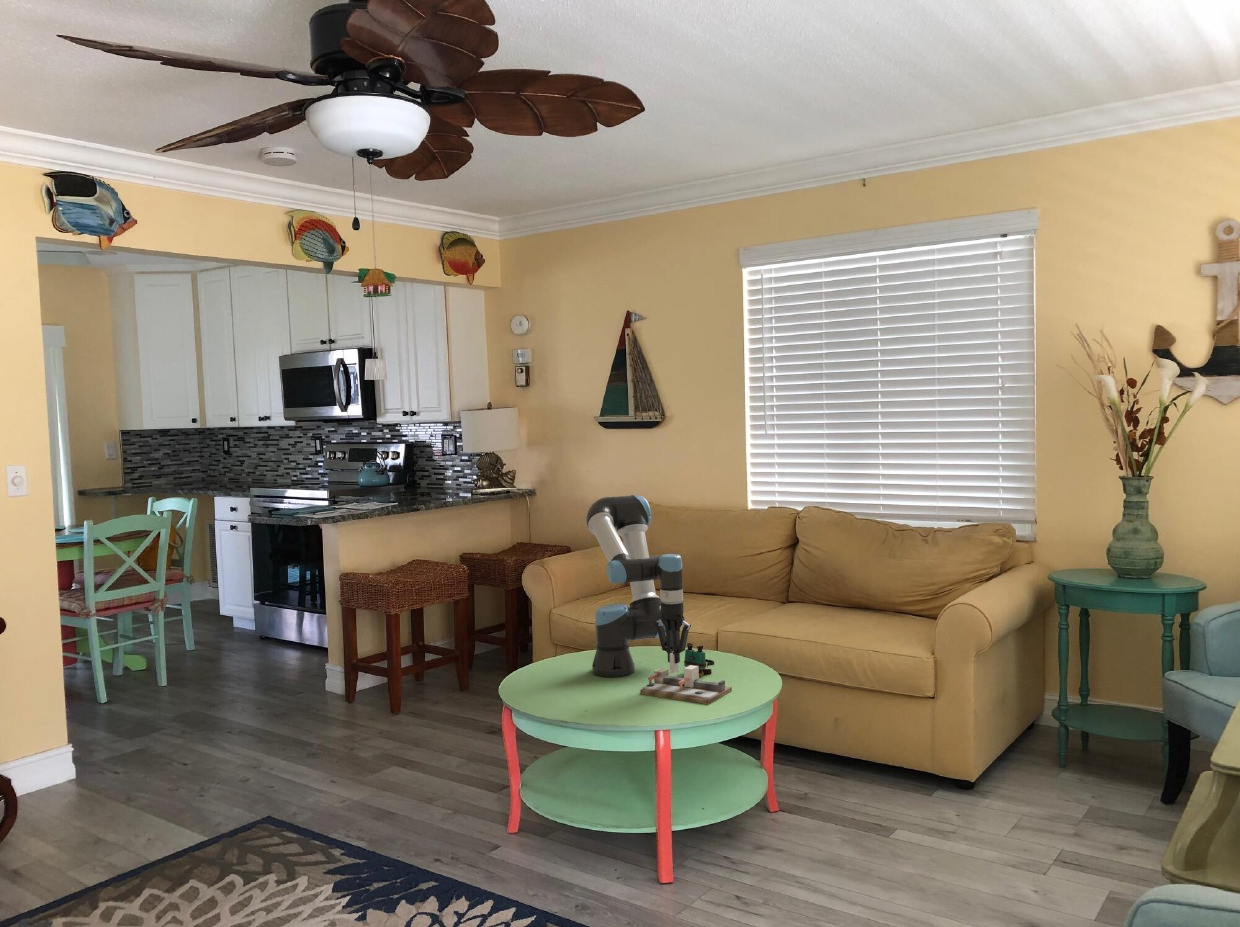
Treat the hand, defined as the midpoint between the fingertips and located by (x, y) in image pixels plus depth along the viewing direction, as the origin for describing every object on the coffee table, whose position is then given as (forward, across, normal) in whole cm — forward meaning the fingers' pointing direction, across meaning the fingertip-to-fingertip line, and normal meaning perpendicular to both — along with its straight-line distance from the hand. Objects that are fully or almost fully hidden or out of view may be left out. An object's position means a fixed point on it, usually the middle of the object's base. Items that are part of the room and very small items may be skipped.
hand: (674, 672), depth 311 cm
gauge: (+5, +6, -3) cm, 8 cm away
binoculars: (+5, -1, +19) cm, 20 cm away
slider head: (+4, +6, -3) cm, 8 cm away
